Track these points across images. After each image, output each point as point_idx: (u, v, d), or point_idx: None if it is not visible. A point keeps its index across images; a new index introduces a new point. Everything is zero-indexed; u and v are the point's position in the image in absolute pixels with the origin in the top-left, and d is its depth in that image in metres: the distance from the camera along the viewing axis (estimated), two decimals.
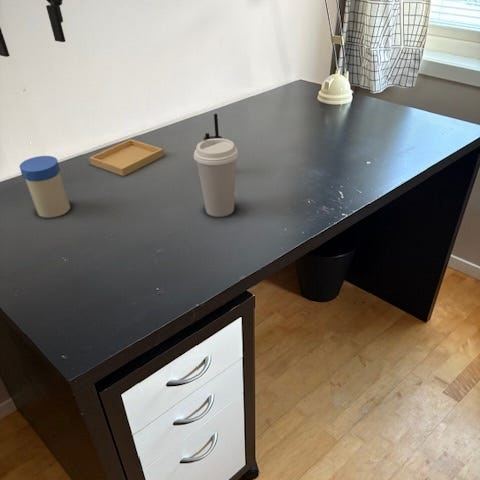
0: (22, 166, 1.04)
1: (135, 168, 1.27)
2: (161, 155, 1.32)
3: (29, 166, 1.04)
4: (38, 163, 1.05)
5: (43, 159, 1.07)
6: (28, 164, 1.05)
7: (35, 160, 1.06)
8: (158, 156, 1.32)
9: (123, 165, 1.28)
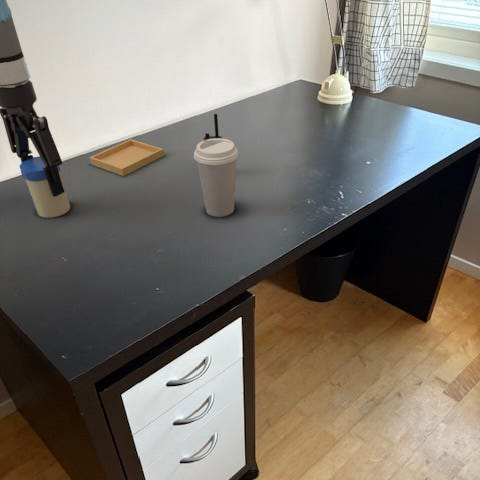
0: (22, 166, 1.04)
1: (135, 168, 1.27)
2: (161, 155, 1.32)
3: (29, 166, 1.04)
4: (38, 163, 1.05)
5: None
6: (28, 164, 1.05)
7: (35, 160, 1.06)
8: (158, 156, 1.32)
9: (123, 165, 1.28)
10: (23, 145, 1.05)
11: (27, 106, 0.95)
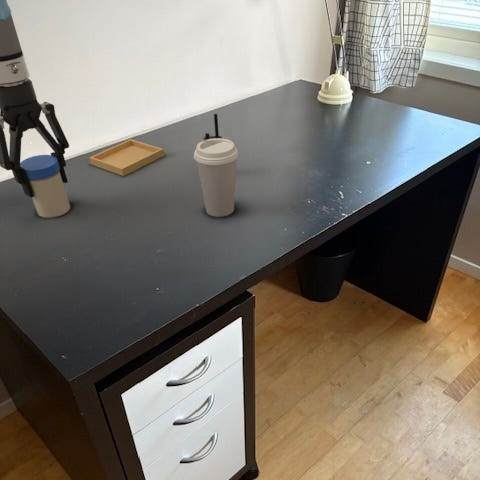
0: (38, 168, 1.02)
1: (135, 168, 1.27)
2: (161, 155, 1.32)
3: (41, 165, 1.04)
4: (38, 162, 1.05)
5: (30, 161, 1.05)
6: (36, 166, 1.03)
7: (29, 164, 1.04)
8: (158, 156, 1.32)
9: (123, 165, 1.28)
10: None
11: None
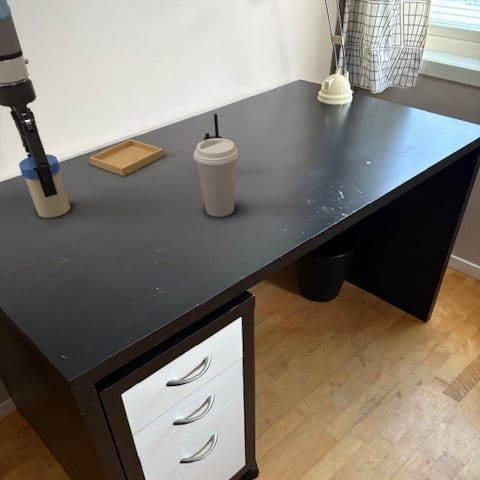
0: (53, 161, 1.05)
1: (135, 168, 1.27)
2: (161, 155, 1.32)
3: None
4: None
5: (30, 165, 1.04)
6: None
7: None
8: (158, 156, 1.32)
9: (123, 165, 1.28)
10: None
11: None
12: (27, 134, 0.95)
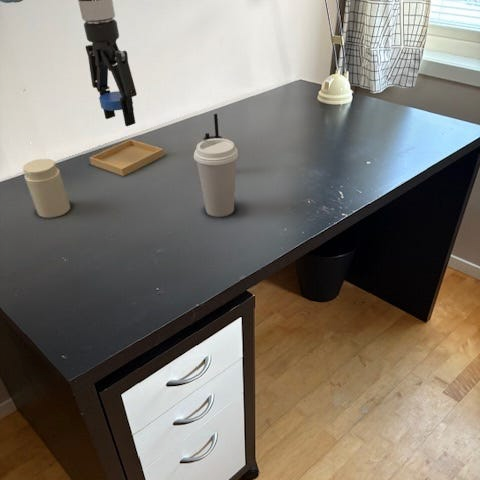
0: None
1: (135, 168, 1.27)
2: (161, 155, 1.32)
3: None
4: (115, 96, 1.21)
5: (111, 98, 1.19)
6: None
7: (118, 98, 1.19)
8: (158, 156, 1.32)
9: (123, 165, 1.28)
10: None
11: None
12: (121, 65, 1.11)
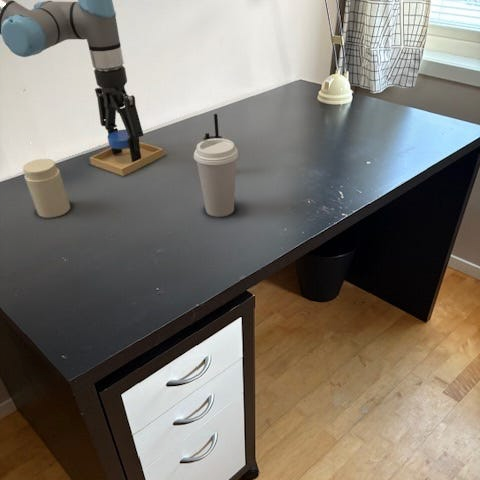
0: None
1: (135, 168, 1.27)
2: (161, 155, 1.32)
3: None
4: (122, 134, 1.27)
5: (118, 137, 1.26)
6: None
7: (125, 137, 1.26)
8: (158, 156, 1.32)
9: (123, 165, 1.28)
10: None
11: None
12: (129, 108, 1.18)
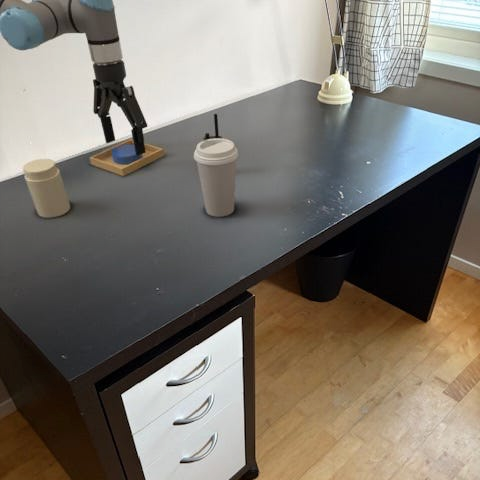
0: None
1: (135, 168, 1.27)
2: (161, 155, 1.32)
3: (133, 148, 1.31)
4: (126, 150, 1.30)
5: (122, 153, 1.29)
6: (134, 150, 1.30)
7: (129, 153, 1.29)
8: (158, 156, 1.32)
9: (123, 165, 1.28)
10: None
11: None
12: (128, 99, 1.16)
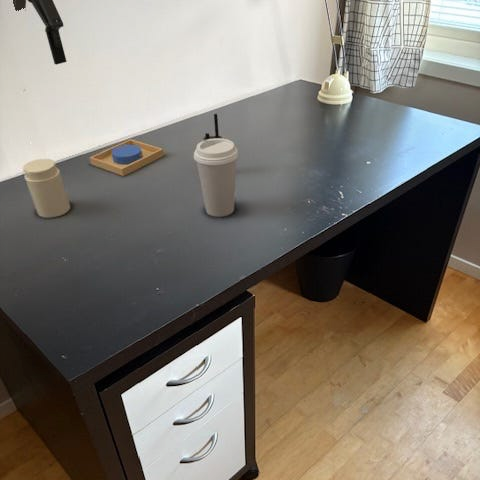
0: (138, 148, 1.31)
1: (135, 168, 1.27)
2: (161, 155, 1.32)
3: (133, 148, 1.31)
4: (126, 150, 1.30)
5: (122, 153, 1.29)
6: (134, 150, 1.30)
7: (129, 153, 1.29)
8: (158, 156, 1.32)
9: (123, 165, 1.28)
10: None
11: None
12: None
